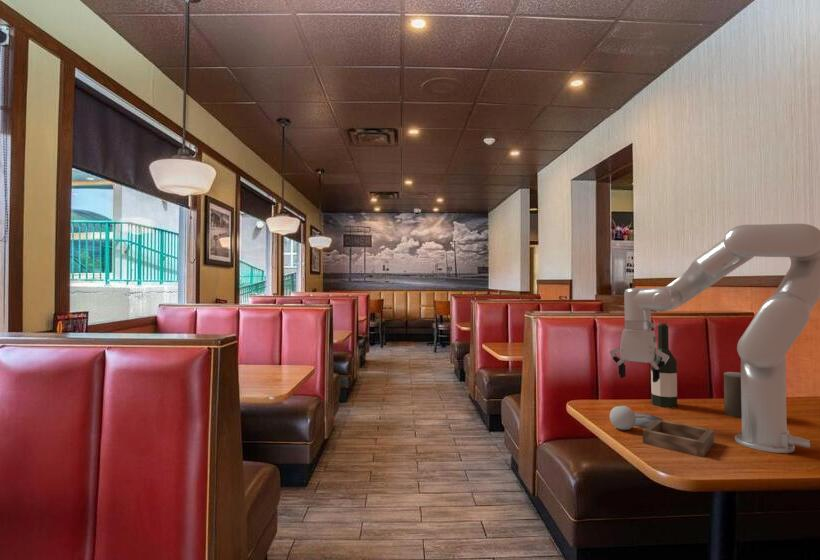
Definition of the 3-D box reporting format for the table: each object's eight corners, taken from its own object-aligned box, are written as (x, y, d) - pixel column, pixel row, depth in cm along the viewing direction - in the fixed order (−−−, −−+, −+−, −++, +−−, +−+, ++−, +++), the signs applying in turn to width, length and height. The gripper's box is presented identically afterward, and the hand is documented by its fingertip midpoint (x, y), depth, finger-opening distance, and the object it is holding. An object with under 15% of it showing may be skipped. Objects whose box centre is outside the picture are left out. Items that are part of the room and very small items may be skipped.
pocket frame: (714, 442, 118) (713, 430, 118) (703, 457, 108) (703, 443, 108) (657, 431, 128) (657, 419, 128) (642, 443, 118) (642, 430, 118)
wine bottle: (682, 409, 151) (681, 324, 152) (659, 409, 151) (657, 324, 152) (669, 402, 160) (667, 322, 160) (646, 402, 160) (645, 322, 161)
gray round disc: (669, 420, 138) (669, 418, 138) (657, 431, 128) (657, 428, 128) (623, 412, 147) (623, 409, 148) (608, 421, 137) (608, 418, 137)
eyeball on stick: (651, 402, 134) (622, 403, 126) (659, 426, 131) (629, 429, 123) (630, 406, 139) (601, 407, 132) (637, 429, 136) (608, 432, 129)
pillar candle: (746, 420, 138) (745, 374, 138) (717, 412, 147) (716, 368, 148) (768, 418, 140) (767, 372, 141) (738, 410, 150) (737, 367, 150)
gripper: (671, 326, 135) (672, 381, 135) (613, 324, 147) (614, 374, 147) (664, 328, 130) (666, 385, 129) (605, 325, 142) (606, 377, 141)
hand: (638, 379), depth 138 cm, fingers open, 9 cm apart
